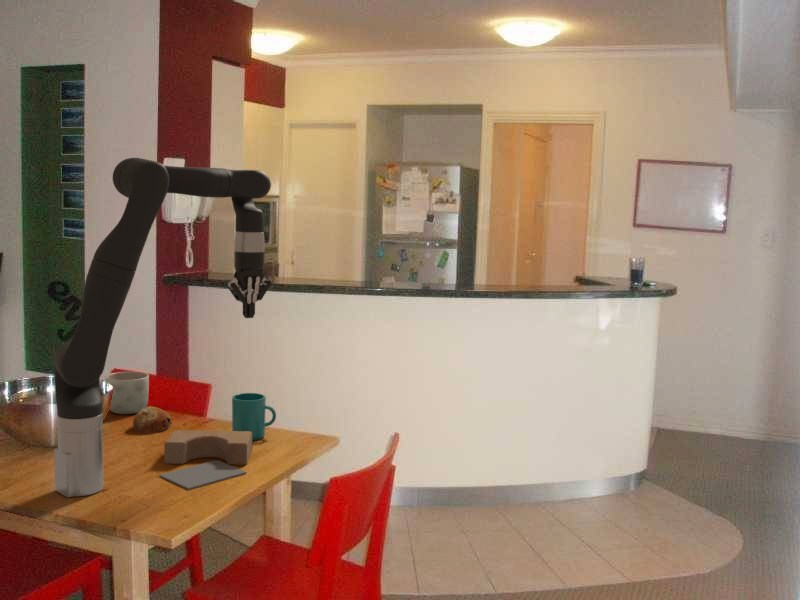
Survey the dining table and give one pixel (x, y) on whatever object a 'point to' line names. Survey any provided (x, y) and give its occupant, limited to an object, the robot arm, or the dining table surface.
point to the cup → (250, 414)
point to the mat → (202, 474)
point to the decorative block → (208, 446)
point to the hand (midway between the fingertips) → (248, 317)
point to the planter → (129, 391)
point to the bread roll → (151, 420)
